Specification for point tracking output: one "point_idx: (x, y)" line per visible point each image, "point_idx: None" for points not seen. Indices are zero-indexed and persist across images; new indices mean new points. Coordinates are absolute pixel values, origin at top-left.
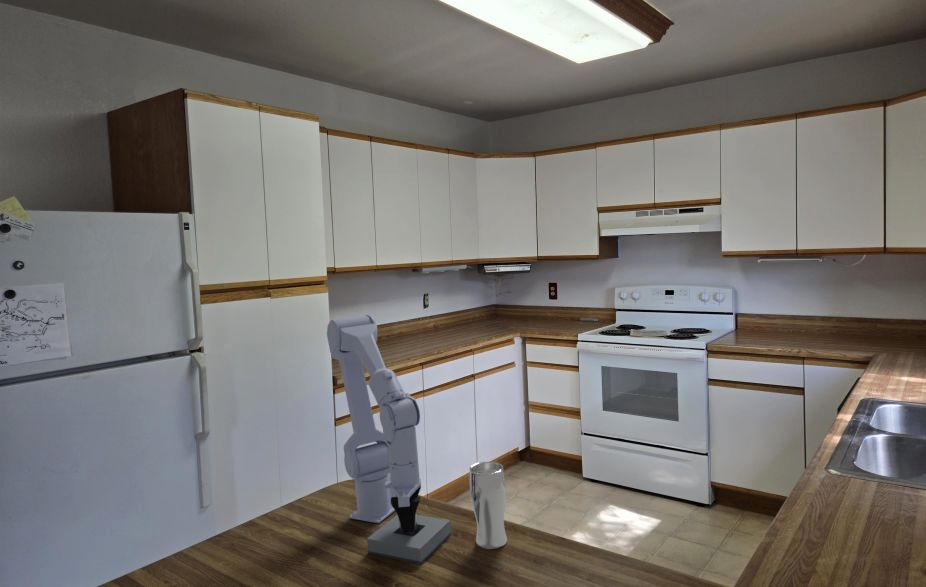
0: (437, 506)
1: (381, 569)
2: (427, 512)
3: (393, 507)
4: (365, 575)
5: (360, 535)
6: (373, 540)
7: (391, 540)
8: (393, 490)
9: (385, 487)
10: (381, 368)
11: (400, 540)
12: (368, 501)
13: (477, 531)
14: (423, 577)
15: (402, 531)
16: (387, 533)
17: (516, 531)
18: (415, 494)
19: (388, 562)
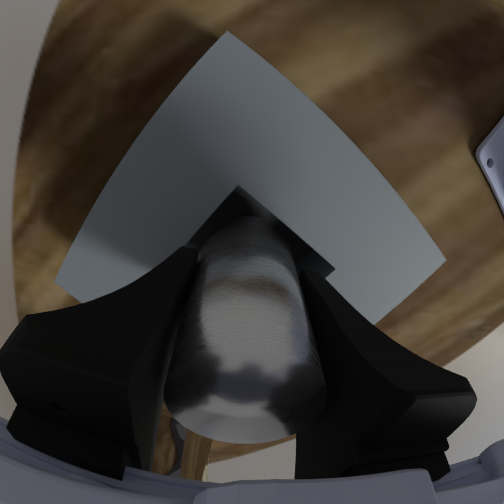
0: (450, 350)
1: (79, 103)
2: (441, 324)
3: (36, 315)
4: (61, 46)
5: (420, 52)
6: (194, 66)
7: (147, 168)
8: (24, 492)
9: (228, 500)
10: None
11: (136, 214)
12: None
13: (167, 429)
14: (19, 243)
15: (212, 240)
16: (244, 154)
17: (210, 452)
18: (303, 454)
19: (119, 131)
